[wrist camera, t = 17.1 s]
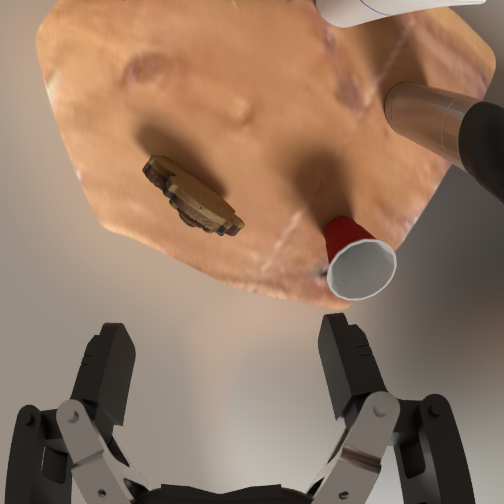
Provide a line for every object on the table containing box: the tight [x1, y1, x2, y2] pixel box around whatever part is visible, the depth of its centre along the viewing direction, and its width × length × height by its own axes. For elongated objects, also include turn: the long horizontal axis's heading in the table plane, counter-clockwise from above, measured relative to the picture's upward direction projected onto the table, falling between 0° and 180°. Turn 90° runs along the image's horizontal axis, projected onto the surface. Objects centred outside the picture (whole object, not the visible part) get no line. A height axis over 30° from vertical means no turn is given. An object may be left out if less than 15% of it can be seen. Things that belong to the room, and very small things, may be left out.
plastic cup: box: [324, 216, 397, 300], centre depth 43 cm, size 11×11×12 cm
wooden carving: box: [142, 156, 245, 236], centre depth 38 cm, size 16×5×10 cm, turn 52°
